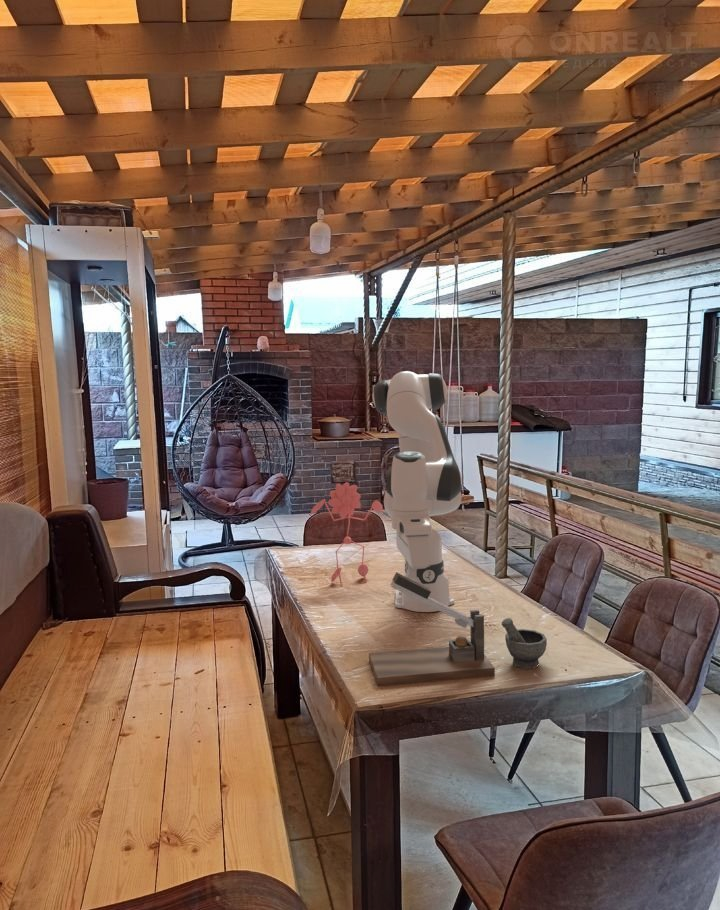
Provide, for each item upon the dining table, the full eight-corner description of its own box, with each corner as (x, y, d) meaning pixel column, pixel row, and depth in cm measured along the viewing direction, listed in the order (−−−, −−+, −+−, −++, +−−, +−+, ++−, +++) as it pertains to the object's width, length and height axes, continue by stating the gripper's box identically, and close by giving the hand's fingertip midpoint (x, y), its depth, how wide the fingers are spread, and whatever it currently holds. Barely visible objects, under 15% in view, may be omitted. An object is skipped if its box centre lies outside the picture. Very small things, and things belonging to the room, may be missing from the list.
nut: (453, 645, 161) (453, 634, 161) (465, 644, 162) (465, 633, 161) (457, 650, 158) (457, 638, 158) (469, 649, 159) (469, 637, 158)
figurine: (389, 579, 231) (385, 481, 227) (319, 590, 221) (315, 488, 218) (372, 569, 245) (368, 477, 242) (306, 579, 235) (301, 483, 232)
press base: (369, 660, 165) (367, 610, 163) (476, 651, 168) (476, 603, 167) (377, 686, 151) (376, 632, 149) (494, 675, 154) (494, 622, 153)
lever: (387, 587, 158) (396, 572, 157) (471, 629, 162) (480, 613, 161) (390, 591, 155) (398, 575, 154) (475, 633, 159) (483, 618, 158)
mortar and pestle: (534, 653, 166) (534, 607, 165) (553, 668, 157) (554, 620, 156) (493, 659, 164) (493, 613, 162) (511, 675, 155) (511, 626, 153)
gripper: (389, 512, 165) (391, 565, 166) (405, 530, 145) (407, 590, 146) (414, 511, 166) (415, 564, 167) (433, 528, 145) (434, 588, 147)
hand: (411, 576), depth 156 cm, fingers closed
